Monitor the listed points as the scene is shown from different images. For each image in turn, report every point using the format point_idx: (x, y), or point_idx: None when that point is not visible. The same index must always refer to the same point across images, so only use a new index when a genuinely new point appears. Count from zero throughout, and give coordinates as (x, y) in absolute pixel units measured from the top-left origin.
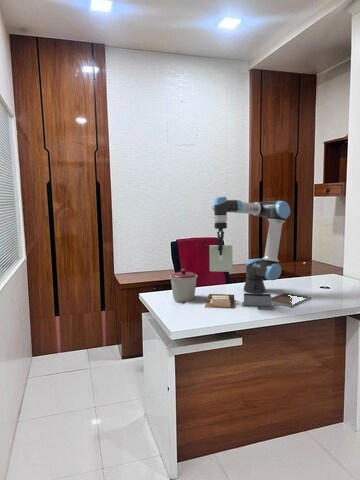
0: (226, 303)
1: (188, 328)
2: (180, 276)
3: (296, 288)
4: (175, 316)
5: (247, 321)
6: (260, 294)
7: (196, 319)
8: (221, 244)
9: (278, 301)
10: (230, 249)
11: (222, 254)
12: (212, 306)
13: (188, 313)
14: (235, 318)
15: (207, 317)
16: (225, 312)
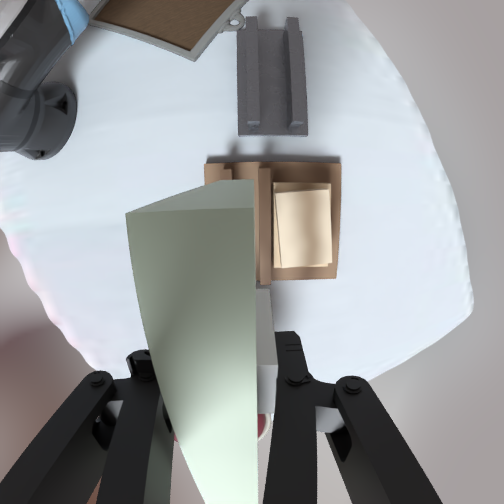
0: (330, 198)
1: (465, 288)
2: (259, 430)
3: None
4: (389, 341)
5: (428, 133)
6: (257, 51)
7: (417, 283)
8: (397, 447)
9: (184, 18)
10: (254, 235)
11: (272, 329)
12: None
13: (366, 316)
14: (410, 167)
15: (404, 255)
16: (355, 199)
